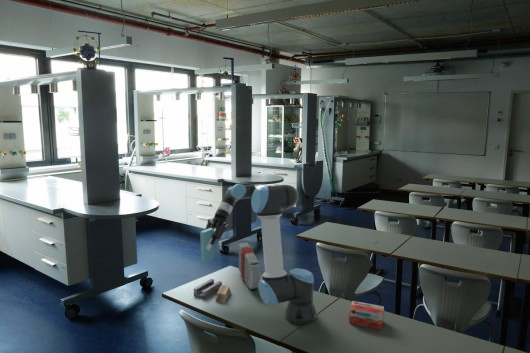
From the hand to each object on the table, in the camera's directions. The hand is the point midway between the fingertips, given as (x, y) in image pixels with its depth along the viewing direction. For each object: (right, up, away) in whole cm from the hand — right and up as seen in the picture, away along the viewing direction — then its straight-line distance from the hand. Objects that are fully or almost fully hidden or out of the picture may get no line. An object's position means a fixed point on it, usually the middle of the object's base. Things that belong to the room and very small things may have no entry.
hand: (205, 248), depth 214 cm
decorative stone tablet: (+23, -23, +18) cm, 37 cm away
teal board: (+1, -7, +3) cm, 7 cm away
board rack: (+1, -25, +6) cm, 25 cm away
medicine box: (+80, -31, -24) cm, 89 cm away
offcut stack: (+10, -26, 0) cm, 28 cm away
